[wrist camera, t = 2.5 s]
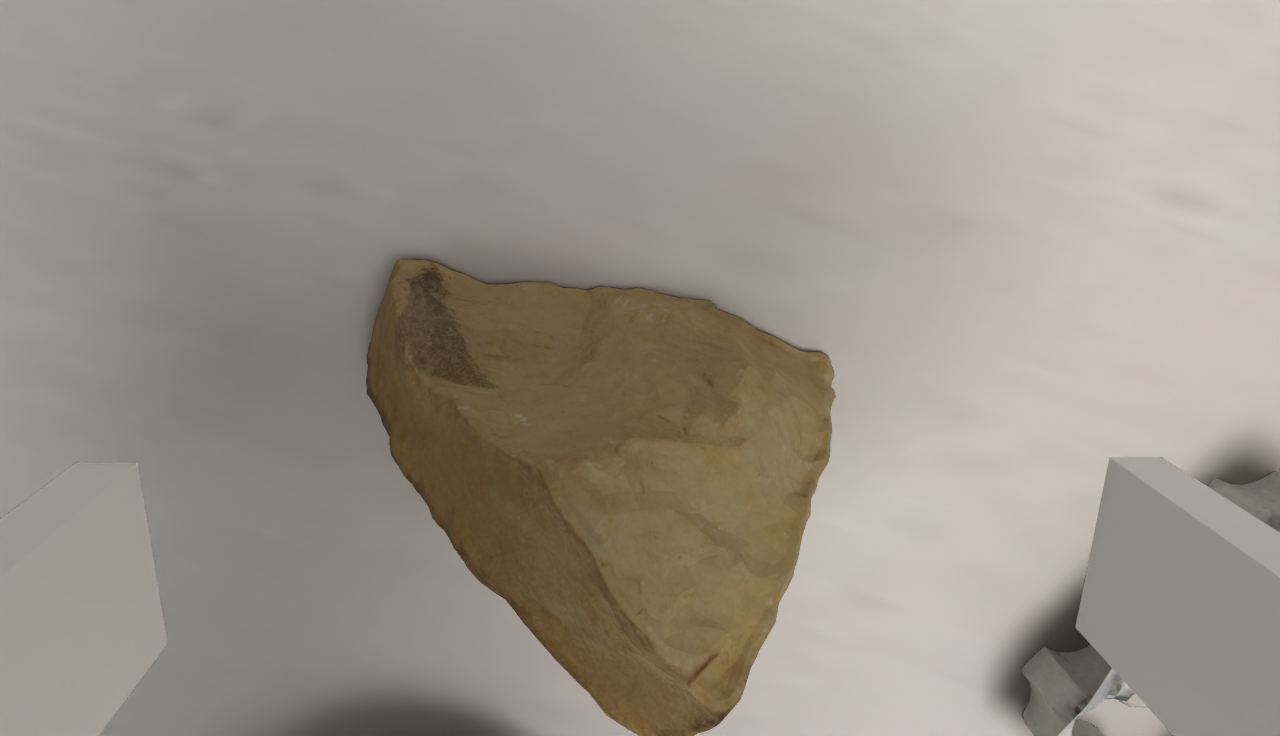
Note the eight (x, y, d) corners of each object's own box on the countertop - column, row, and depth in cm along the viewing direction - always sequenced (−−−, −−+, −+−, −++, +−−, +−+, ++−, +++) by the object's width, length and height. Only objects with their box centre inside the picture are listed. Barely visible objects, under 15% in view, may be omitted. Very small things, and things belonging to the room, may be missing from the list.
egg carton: (1120, 803, 28) (1207, 917, 24) (969, 677, 26) (1038, 780, 22) (1394, 579, 26) (1536, 664, 22) (1252, 426, 24) (1381, 491, 20)
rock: (219, 412, 19) (527, 718, 21) (234, 289, 12) (710, 777, 13) (541, 158, 25) (770, 415, 26) (689, -38, 17) (999, 337, 19)
